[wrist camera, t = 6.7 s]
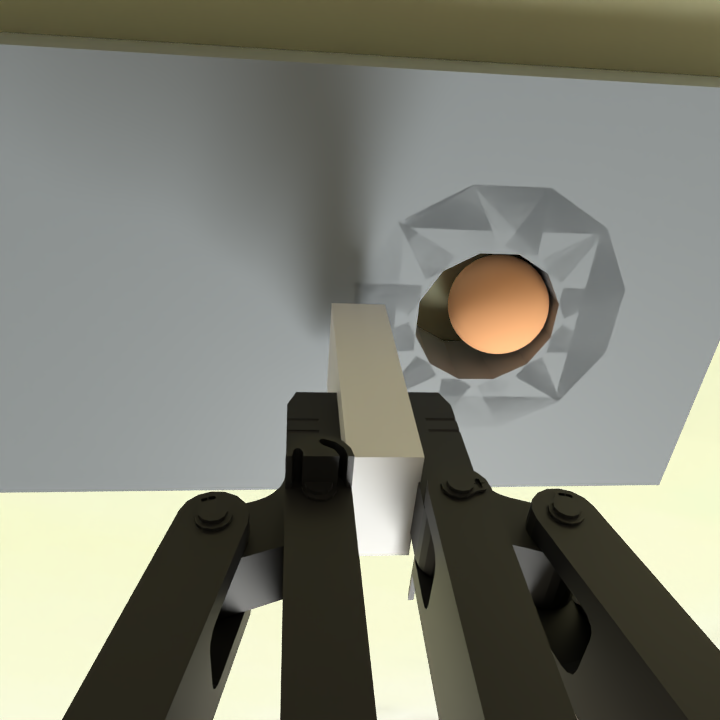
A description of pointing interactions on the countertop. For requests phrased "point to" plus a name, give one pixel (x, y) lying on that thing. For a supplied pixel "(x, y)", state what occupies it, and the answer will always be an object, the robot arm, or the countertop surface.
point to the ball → (498, 304)
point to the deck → (340, 255)
